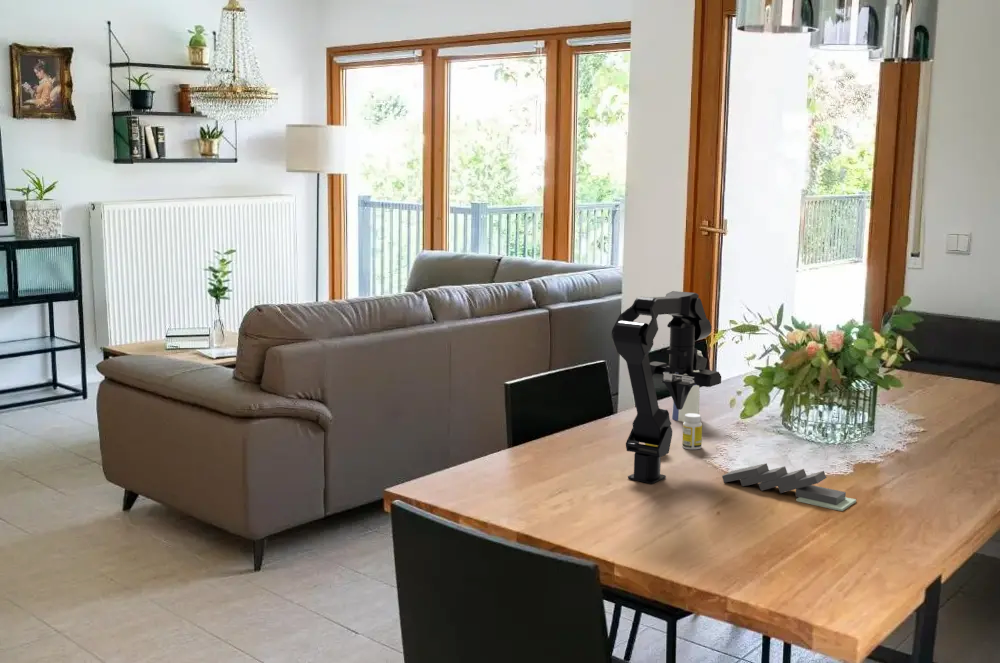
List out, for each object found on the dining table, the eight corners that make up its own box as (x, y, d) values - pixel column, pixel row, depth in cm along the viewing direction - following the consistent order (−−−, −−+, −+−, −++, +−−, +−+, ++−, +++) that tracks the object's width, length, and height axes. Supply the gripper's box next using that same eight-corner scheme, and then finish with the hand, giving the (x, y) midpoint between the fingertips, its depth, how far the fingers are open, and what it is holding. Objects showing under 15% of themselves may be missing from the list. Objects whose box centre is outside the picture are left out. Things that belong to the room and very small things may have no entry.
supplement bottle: (700, 445, 265) (701, 413, 264) (702, 450, 261) (703, 417, 259) (681, 444, 266) (682, 412, 264) (682, 449, 261) (684, 417, 260)
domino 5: (804, 490, 228) (845, 499, 222) (795, 496, 224) (836, 505, 219) (805, 483, 228) (845, 492, 222) (795, 489, 224) (836, 497, 218)
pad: (842, 511, 216) (842, 509, 216) (796, 500, 223) (796, 498, 223) (856, 501, 223) (856, 499, 222) (811, 492, 229) (811, 489, 229)
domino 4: (789, 487, 230) (826, 477, 225) (780, 493, 226) (817, 483, 221) (787, 480, 230) (823, 470, 225) (777, 486, 227) (814, 476, 221)
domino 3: (770, 485, 233) (806, 475, 227) (761, 490, 229) (797, 480, 224) (768, 478, 233) (803, 468, 228) (758, 483, 229) (794, 473, 224)
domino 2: (752, 481, 236) (787, 473, 230) (742, 486, 232) (777, 478, 226) (749, 474, 236) (785, 466, 230) (739, 479, 232) (775, 471, 226)
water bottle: (663, 416, 294) (666, 329, 290) (688, 413, 298) (692, 327, 294) (680, 423, 287) (683, 334, 283) (705, 420, 290) (709, 332, 286)
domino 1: (734, 477, 239) (768, 470, 233) (724, 482, 235) (759, 475, 229) (732, 470, 239) (766, 463, 233) (721, 475, 235) (756, 468, 229)
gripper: (734, 345, 245) (731, 409, 248) (666, 335, 257) (664, 397, 260) (710, 351, 237) (707, 418, 239) (641, 341, 249) (639, 405, 252)
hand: (679, 409), depth 248 cm, fingers closed
